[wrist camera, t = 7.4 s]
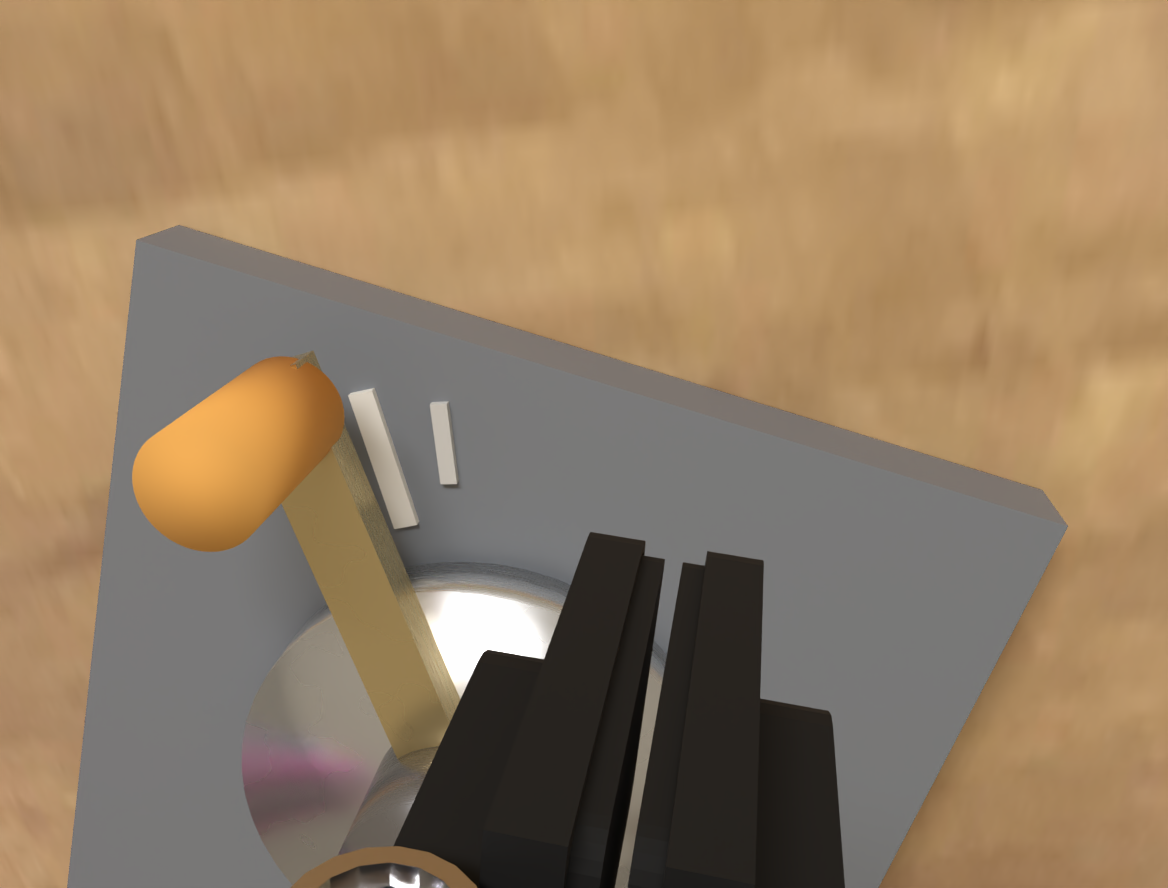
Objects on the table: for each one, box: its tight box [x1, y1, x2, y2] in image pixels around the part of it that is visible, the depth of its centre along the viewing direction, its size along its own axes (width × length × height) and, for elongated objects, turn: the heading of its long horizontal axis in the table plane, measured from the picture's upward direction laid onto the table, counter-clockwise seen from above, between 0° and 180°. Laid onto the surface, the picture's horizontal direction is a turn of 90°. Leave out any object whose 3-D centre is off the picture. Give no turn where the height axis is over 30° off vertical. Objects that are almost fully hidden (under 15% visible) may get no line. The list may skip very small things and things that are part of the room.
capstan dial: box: [132, 351, 667, 888], centre depth 23 cm, size 18×12×6 cm, turn 18°
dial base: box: [67, 225, 1068, 888], centre depth 28 cm, size 22×22×2 cm
